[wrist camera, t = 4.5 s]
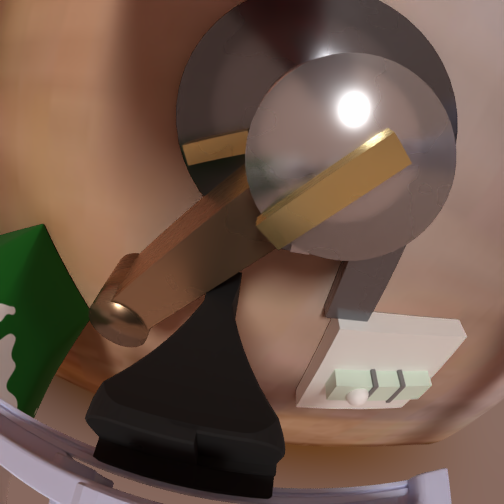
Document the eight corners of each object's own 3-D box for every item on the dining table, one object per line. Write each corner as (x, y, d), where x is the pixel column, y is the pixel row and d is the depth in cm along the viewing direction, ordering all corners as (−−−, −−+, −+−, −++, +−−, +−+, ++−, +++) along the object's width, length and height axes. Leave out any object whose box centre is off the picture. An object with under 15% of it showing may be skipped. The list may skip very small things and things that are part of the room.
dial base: (471, 46, 7) (486, 46, 6) (377, 312, 15) (381, 327, 15) (198, -26, 7) (191, -34, 6) (176, 283, 15) (171, 297, 14)
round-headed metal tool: (341, 34, 8) (391, 9, 4) (416, 147, 10) (487, 202, 6) (96, 248, 13) (46, 316, 9) (168, 309, 15) (141, 385, 11)
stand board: (458, 319, 16) (477, 361, 13) (398, 392, 21) (405, 428, 18) (336, 307, 15) (344, 361, 13) (295, 389, 21) (295, 431, 18)
